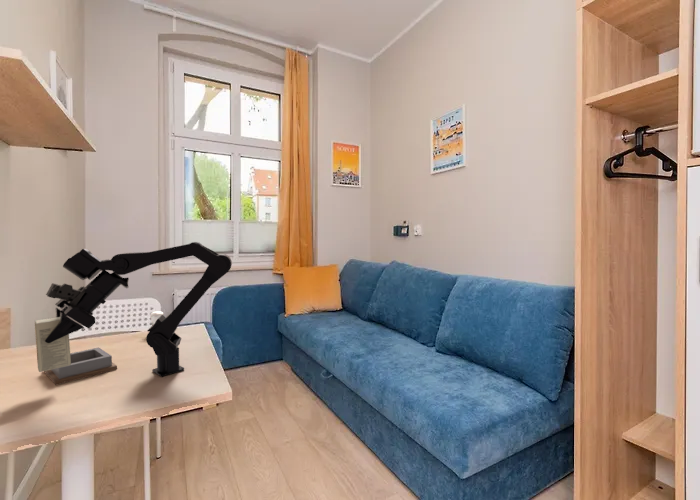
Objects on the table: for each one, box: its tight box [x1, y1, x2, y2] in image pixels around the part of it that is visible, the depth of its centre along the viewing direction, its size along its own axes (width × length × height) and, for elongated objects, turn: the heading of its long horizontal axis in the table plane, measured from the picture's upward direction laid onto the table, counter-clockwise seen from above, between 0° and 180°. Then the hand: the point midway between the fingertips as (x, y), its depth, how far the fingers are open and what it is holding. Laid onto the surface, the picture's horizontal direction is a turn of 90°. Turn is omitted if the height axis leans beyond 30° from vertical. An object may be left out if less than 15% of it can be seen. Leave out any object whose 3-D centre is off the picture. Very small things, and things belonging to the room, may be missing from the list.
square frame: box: [51, 347, 113, 379], centre depth 100 cm, size 12×12×3 cm
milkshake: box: [149, 309, 166, 326], centre depth 137 cm, size 4×5×10 cm
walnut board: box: [43, 362, 118, 386], centre depth 100 cm, size 14×14×1 cm
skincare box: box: [34, 316, 71, 373], centre depth 86 cm, size 6×4×12 cm
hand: (45, 340), depth 85 cm, fingers closed on skincare box, 4 cm apart
